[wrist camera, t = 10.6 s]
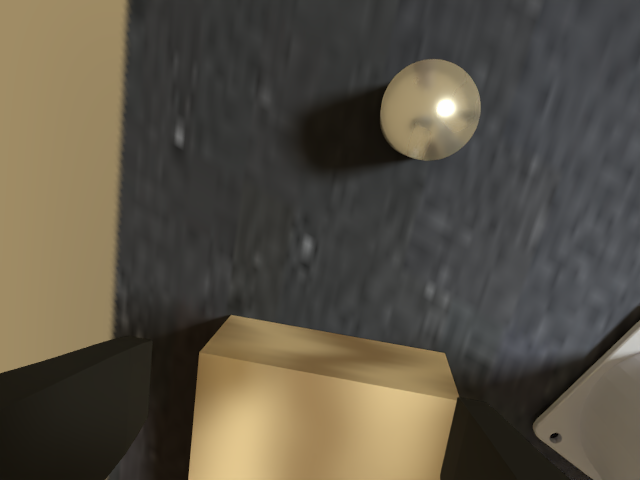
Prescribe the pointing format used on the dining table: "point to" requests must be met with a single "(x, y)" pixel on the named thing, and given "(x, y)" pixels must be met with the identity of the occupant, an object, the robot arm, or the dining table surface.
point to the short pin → (430, 110)
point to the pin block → (317, 406)
